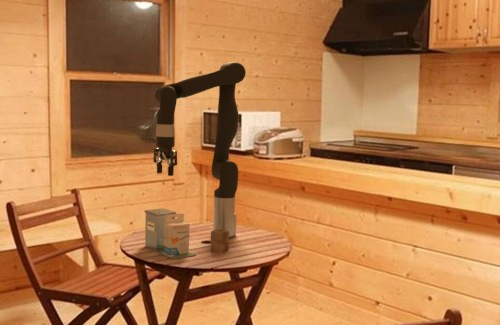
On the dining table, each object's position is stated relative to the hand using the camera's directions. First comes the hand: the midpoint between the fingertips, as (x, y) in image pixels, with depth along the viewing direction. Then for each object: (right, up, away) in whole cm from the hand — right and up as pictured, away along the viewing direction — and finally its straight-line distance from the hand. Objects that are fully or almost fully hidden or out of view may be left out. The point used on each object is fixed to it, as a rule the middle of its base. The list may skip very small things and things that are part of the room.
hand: (164, 174), depth 240 cm
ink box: (+7, -30, -18) cm, 35 cm away
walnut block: (+23, -30, -11) cm, 39 cm away
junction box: (-1, -29, -9) cm, 30 cm away
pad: (+7, -30, -18) cm, 36 cm away
